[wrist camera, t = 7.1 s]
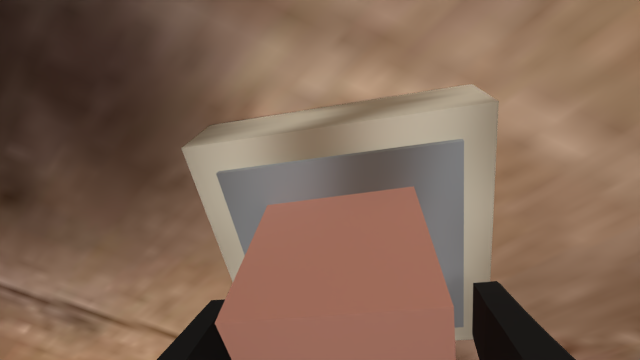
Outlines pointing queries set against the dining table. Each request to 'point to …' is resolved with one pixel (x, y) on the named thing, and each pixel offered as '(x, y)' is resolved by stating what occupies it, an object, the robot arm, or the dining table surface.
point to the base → (363, 172)
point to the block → (340, 284)
